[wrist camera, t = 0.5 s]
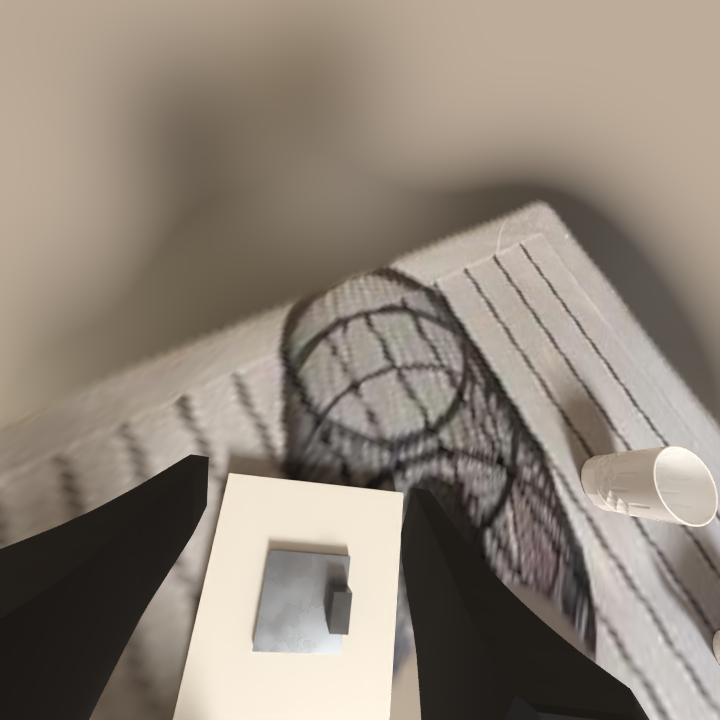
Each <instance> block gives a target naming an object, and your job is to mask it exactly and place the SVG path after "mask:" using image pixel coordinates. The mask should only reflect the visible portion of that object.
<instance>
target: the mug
mask: <svg viewBox="0 0 720 720" xmlns="http://www.w3.org/2000/svg"><path fill="white" fill-rule="evenodd" d="M713 650H714V654H715V657H716V659H717V661H718V662H719V664H720V630H718V631H717V632H716V633H715V635H714V638H713Z"/></svg>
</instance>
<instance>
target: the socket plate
mask: <svg viewBox="0 0 720 720" xmlns="http://www.w3.org/2000/svg"><path fill="white" fill-rule="evenodd" d="M402 507H403V493H400V492H393V491H385V490H376V489H367V488H358V487H350V486H341V485H332V484H323V483H314V482H306V481H297V480H288V479H279V478H270V477H262V476H253V475H244V474H235V473H229V476H228V481H227V485H226V489H225V494H224V498H223V503H222V507H221V511H220V516H219V520H218V524H217V529H216V533H215V538H214V542H213V546H212V551H211V555H210V560H209V564H208V568H207V573H206V577H205V581H204V586H203V590H202V595H201V599H200V603H199V608H198V612H197V616H196V621H195V625H194V630H193V634H192V638H191V643H190V647H189V652H188V656H187V660H186V665H185V669H184V673H183V678H182V682H181V687H180V691H179V695H178V700H177V704H176V709H175V713H174V717H173V720H389V718H390V702H391V686H392V669H393V653H394V637H395V621H396V604H397V588H398V572H399V555H400V539H401V523H402ZM270 549H282V550H294V551H306V552H319V553H331V554H344V555H350V557H351V558H350V567H349V577H348V586H349V588H350V590H351V591H352V603H351V613H350V623H349V633H348V635H342V644H341V653H340V654H313V653H282V652H252V649H253V644H254V638H255V632H256V627H257V621H258V615H259V610H260V604H261V598H262V593H263V587H264V581H265V576H266V570H267V564H268V559H269V553H270Z"/></svg>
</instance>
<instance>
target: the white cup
mask: <svg viewBox="0 0 720 720" xmlns="http://www.w3.org/2000/svg"><path fill="white" fill-rule="evenodd" d="M581 482H582V486H583V489H584V492H585V494H586V495H587V496H588V498H589V499H590V500H591V502H592V503H593V504H594V505H596V506H598V507H599V508H601V509H603V510H607V511H613V512H619V513H624V514H627V515H631V516H636V517H642V518H647V519H652V520H658V521H664V522H670V523H676V524H682V525H688V526H694V527H699V526H704V525H706V524H708V523H709V522H710V521H711V520H712V519H713V517H714V516H715V513H716V510H717V505H718V496H717V490H716V486H715V483H714V480H713V478H712V475H711V473H710V472H709V470H708V468H707V467H706V465H705V464H704V463H703V462H702V460H701V459H700V458H699V457H698V456H696V455H695V454H694V453H693V452H691V451H690V450H688V449H686V448H683V447H680V446H666V447H658V448H649V449H640V450H631V451H626V452H617V453H613V454H608V455H598V456H593V457H592V458H590V459H588V460H586V462H585V464H584V466H583V468H582V470H581Z"/></svg>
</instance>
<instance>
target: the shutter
mask: <svg viewBox="0 0 720 720" xmlns="http://www.w3.org/2000/svg"><path fill="white" fill-rule="evenodd" d="M350 558H351V557H350V555H344V554H331V553H319V552H306V551H294V550H282V549H270V553H269V559H268V564H267V570H266V576H265V581H264V587H263V593H262V598H261V604H260V610H259V615H258V621H257V627H256V632H255V638H254V644H253V649H252V652H282V653H313V654H340V653H341V644H342V635H348V633H349V623H350V613H351V603H352V591H351V590H350V588H349V586H348V577H349V567H350Z"/></svg>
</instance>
